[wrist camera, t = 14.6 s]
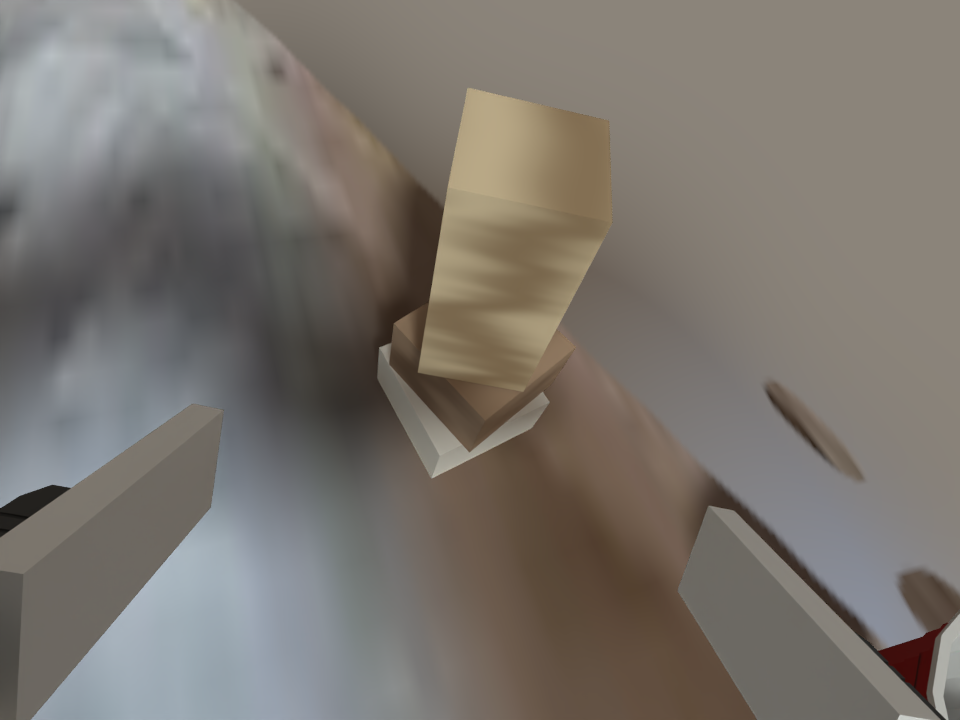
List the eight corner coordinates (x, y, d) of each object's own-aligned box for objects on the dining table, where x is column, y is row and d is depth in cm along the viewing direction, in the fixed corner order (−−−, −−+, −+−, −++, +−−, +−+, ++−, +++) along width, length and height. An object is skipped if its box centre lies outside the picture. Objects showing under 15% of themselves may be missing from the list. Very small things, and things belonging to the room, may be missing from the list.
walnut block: (389, 364, 30) (393, 323, 26) (474, 307, 33) (488, 264, 29) (469, 452, 28) (485, 420, 25) (551, 384, 31) (576, 347, 28)
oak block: (417, 372, 25) (447, 187, 16) (434, 288, 28) (467, 87, 18) (523, 392, 26) (612, 222, 16) (529, 307, 28) (609, 120, 19)
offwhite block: (376, 381, 33) (379, 347, 30) (473, 342, 36) (486, 307, 33) (430, 480, 31) (439, 455, 28) (530, 430, 34) (549, 402, 30)
